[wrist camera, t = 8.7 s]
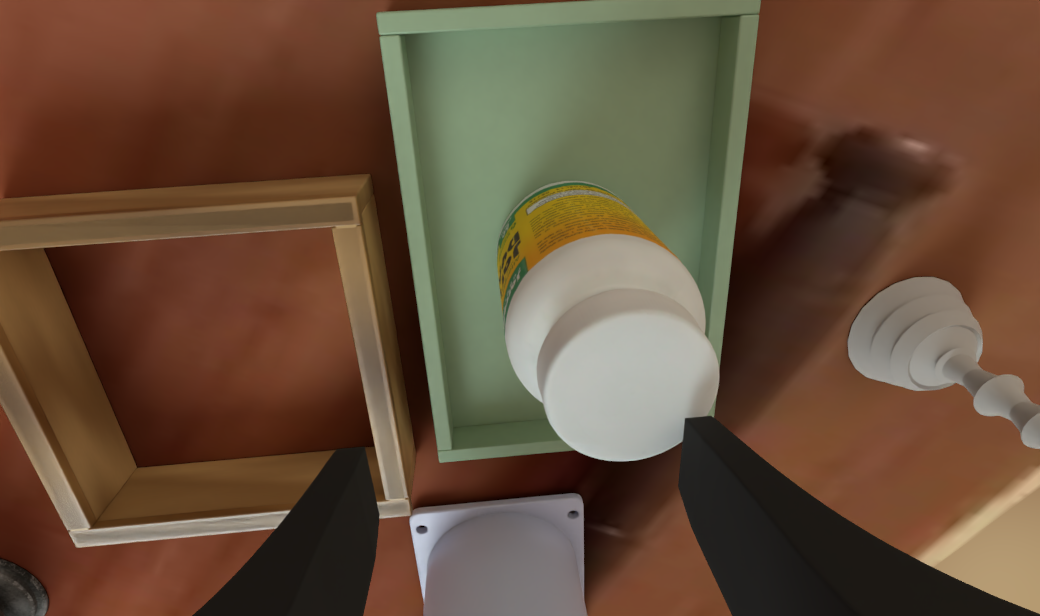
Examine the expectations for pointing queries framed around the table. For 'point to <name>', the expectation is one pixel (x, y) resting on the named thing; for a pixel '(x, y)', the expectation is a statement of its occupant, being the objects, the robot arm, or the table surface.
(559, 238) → the supplement bottle
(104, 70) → the table surface
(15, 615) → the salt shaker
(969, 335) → the chalice
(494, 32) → the tray
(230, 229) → the brown wooden square frame
